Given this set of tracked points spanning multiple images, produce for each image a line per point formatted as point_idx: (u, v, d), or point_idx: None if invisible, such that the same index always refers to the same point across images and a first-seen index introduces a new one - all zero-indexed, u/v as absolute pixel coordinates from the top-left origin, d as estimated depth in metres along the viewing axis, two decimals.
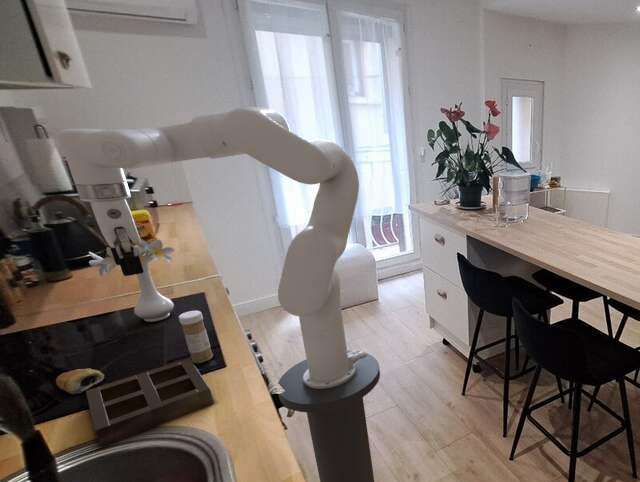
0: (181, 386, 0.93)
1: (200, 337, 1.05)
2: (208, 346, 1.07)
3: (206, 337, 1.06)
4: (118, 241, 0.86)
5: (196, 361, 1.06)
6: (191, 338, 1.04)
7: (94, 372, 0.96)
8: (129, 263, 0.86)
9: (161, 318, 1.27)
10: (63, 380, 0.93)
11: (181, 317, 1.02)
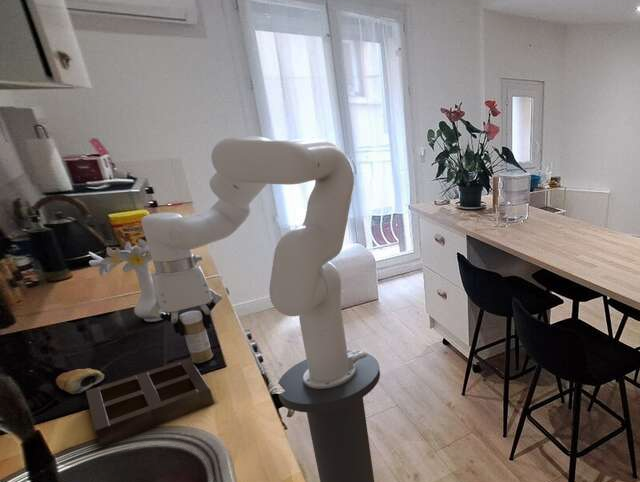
0: (181, 386, 0.93)
1: (200, 337, 1.05)
2: (208, 346, 1.07)
3: (206, 337, 1.06)
4: None
5: (196, 361, 1.06)
6: (191, 338, 1.04)
7: (94, 372, 0.96)
8: None
9: (161, 318, 1.27)
10: (63, 380, 0.93)
11: (181, 317, 1.02)
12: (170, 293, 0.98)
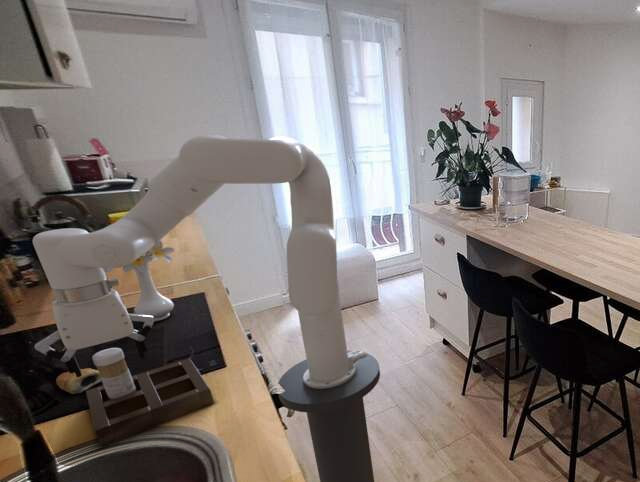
0: (181, 386, 0.93)
1: (121, 380, 0.87)
2: (132, 389, 0.90)
3: (129, 379, 0.89)
4: None
5: None
6: (109, 381, 0.86)
7: (94, 372, 0.96)
8: None
9: (161, 318, 1.27)
10: (63, 380, 0.93)
11: (95, 357, 0.84)
12: (75, 327, 0.80)
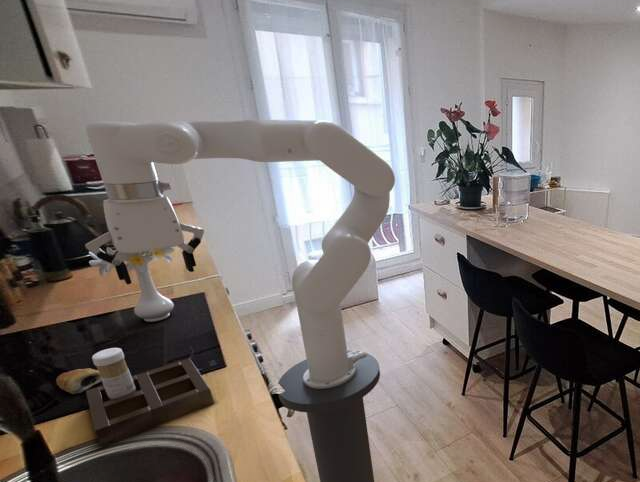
0: (181, 386, 0.93)
1: (121, 380, 0.87)
2: (132, 389, 0.90)
3: (129, 379, 0.89)
4: None
5: None
6: (109, 381, 0.86)
7: (94, 372, 0.96)
8: None
9: (161, 318, 1.27)
10: (63, 380, 0.93)
11: (95, 357, 0.84)
12: (127, 228, 0.75)
